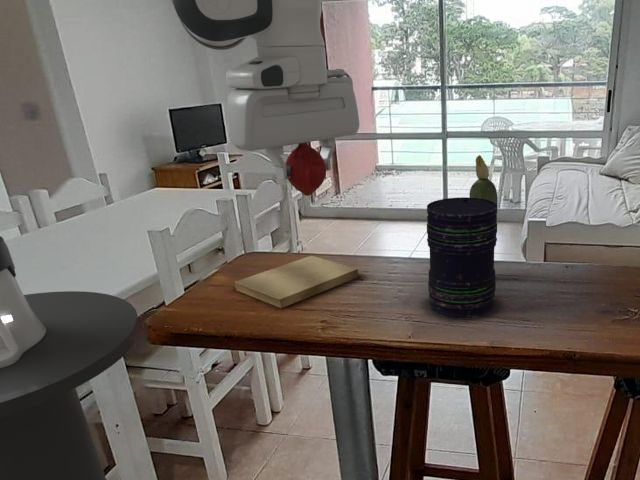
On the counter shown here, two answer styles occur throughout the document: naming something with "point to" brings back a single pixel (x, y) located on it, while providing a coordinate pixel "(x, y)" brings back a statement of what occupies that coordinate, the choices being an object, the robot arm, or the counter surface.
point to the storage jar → (462, 257)
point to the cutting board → (296, 281)
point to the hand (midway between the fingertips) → (304, 174)
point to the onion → (306, 169)
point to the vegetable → (483, 183)
